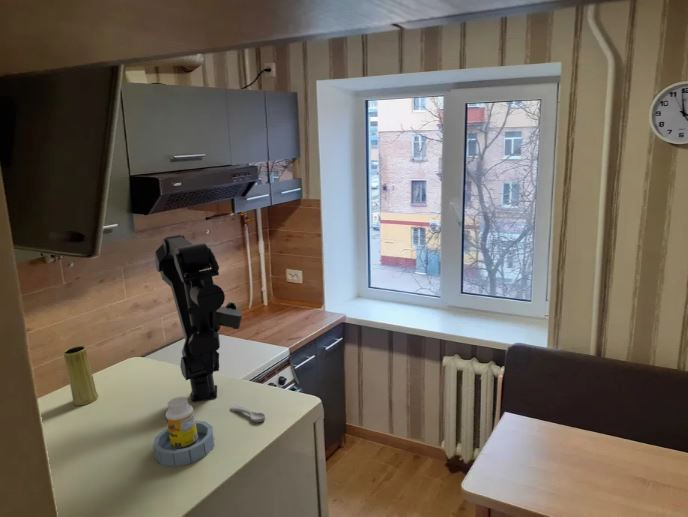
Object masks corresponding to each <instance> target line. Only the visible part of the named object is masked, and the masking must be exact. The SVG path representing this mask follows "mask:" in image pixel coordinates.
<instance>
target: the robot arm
mask: <svg viewBox="0 0 688 517" xmlns="http://www.w3.org/2000/svg"><path fill="white" fill-rule="evenodd" d="M154 254H155V255H154V256H155V257H154V265H155V267H156V271H157V272H158V273H159V272H160V277H161V280H162V281H164V282H165V283H166V284H167V285H168V286H169V287H170V289H171V292H172V297H173V300H174V303H175V307H176V311H177V316H178V319H179V324H180V325H181V329H182V333H183V336H184V343H183V347H182V349H181V354H182V356H181V358H180V371H181V375H182V376H183V378H184V379H185V380H186V381H190V382H189V383H190V387H191V393H190V398H189V399H190V403H195V402H200V401H204V400H210V399H216V398H218V385H217V384H215V381H214V375H213V374H214V372H218V371H220V353H219V352H218V351H219V349H220V347H221V342H220V341H221V340H220V334H219V333H218V332H219V331H220V329H221V327H226V328H232V329H234V330H239V329H240V327H241V322H242V317H243V311H242V310H241V308H238V309H237V305H236V302H231V301H228V303H227V304H226V305H224V302H225V299H226V297H225V296H226V294H225V292H224V290H223V289H222V288H221V286H219V285H218V284H216V283H215V282H214V280H213V277H216V276H217V277H218V276H220V273H219V269H220V266H219V264H218V261H217V258H216V256H215V253H214V252H213V251H212V248H210V247H208V245H207V244H206V243H202V242H201V243H192V242H190V241H189V240H187V239H186V237H185V236H184V235H181V234H177V235H171V236H166V237H165V238H163V239H162V243H161V245H160V246H159V247H158V248H157V249H156V250H155V252H154Z"/></svg>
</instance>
